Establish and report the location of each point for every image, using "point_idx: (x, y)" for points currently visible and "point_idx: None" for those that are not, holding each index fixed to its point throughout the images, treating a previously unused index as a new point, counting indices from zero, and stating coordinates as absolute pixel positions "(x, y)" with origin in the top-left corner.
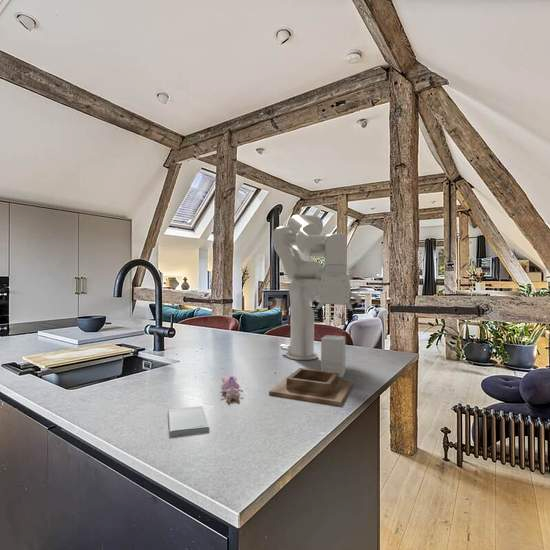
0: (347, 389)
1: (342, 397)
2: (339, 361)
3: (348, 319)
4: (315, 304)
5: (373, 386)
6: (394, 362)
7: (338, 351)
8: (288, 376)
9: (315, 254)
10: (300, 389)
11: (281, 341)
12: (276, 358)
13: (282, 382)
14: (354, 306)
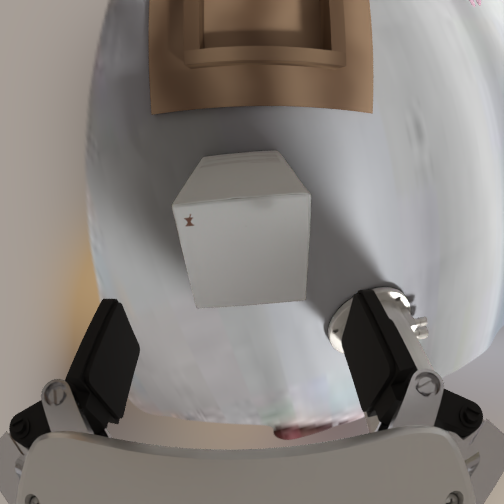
0: (150, 23)
1: None
2: (206, 168)
3: (103, 314)
4: (455, 405)
5: (99, 127)
6: None
7: (205, 179)
8: (370, 69)
9: None
10: None
11: None
12: (429, 276)
13: (363, 8)
14: (36, 413)
